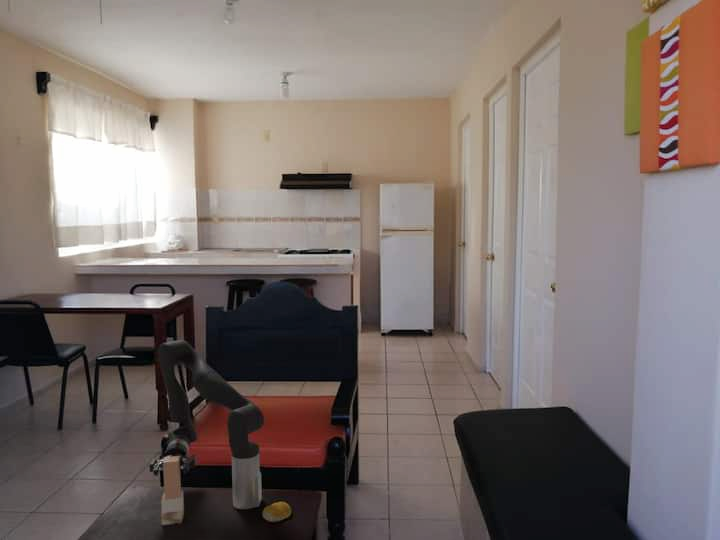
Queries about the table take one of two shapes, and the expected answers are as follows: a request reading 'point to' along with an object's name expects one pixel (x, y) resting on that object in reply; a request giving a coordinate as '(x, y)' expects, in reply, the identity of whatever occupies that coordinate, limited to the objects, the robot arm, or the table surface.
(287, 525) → the table surface
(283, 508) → the bread roll
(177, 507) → the white short block
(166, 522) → the tower base
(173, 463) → the pillar
